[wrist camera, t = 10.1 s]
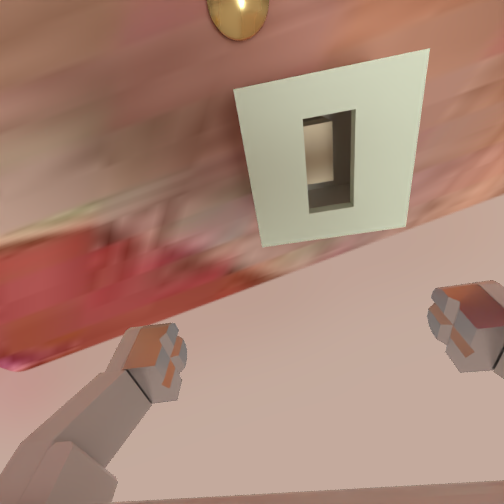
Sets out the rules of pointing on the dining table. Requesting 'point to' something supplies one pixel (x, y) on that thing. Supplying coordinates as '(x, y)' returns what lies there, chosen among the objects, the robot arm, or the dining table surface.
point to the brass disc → (238, 17)
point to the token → (318, 149)
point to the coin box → (334, 148)
